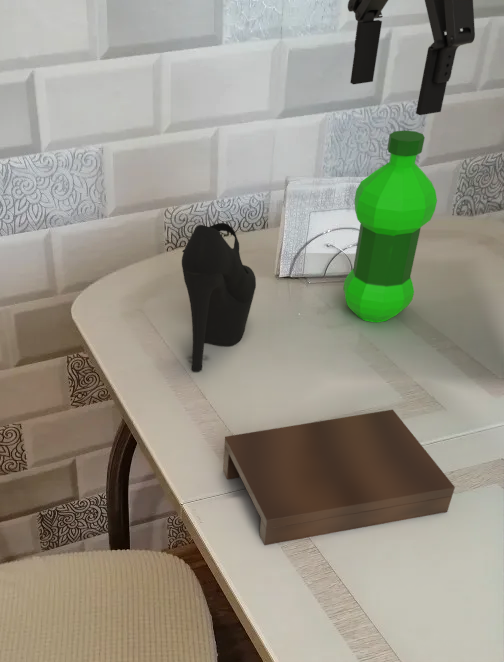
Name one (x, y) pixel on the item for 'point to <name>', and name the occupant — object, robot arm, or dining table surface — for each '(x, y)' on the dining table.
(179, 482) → the dining table surface
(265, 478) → the wooden display riser
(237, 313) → the high-heeled shoe
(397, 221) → the plastic bottle
